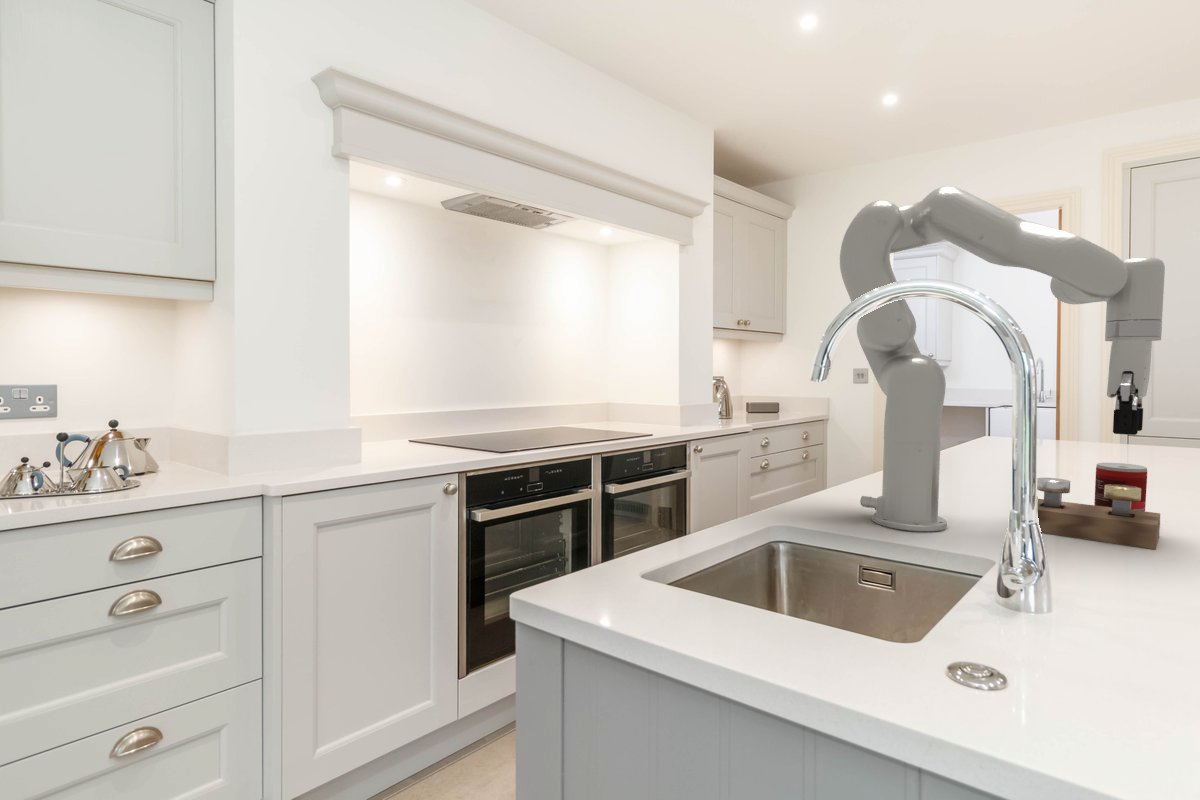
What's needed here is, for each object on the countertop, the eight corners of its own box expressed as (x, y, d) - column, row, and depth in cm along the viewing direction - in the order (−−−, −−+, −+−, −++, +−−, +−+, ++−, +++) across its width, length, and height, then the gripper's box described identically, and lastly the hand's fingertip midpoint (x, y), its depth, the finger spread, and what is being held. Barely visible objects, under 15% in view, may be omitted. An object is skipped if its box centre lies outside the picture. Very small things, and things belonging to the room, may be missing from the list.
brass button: (1101, 521, 116) (1103, 487, 115) (1104, 516, 119) (1106, 483, 119) (1138, 526, 112) (1140, 490, 112) (1140, 521, 116) (1142, 487, 116)
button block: (1013, 528, 122) (1014, 506, 121) (1026, 517, 130) (1026, 497, 130) (1155, 549, 108) (1156, 525, 108) (1159, 535, 117) (1160, 513, 117)
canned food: (1141, 521, 128) (1144, 464, 127) (1147, 530, 121) (1150, 470, 121) (1091, 516, 132) (1094, 461, 132) (1095, 524, 125) (1098, 466, 125)
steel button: (1033, 512, 122) (1035, 479, 122) (1038, 508, 126) (1040, 476, 126) (1066, 516, 119) (1068, 483, 119) (1070, 512, 123) (1072, 479, 122)
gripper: (1111, 334, 122) (1106, 427, 123) (1099, 330, 110) (1094, 434, 111) (1164, 333, 117) (1159, 430, 118) (1158, 329, 105) (1152, 437, 106)
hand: (1127, 432), depth 114 cm, fingers open, 9 cm apart
